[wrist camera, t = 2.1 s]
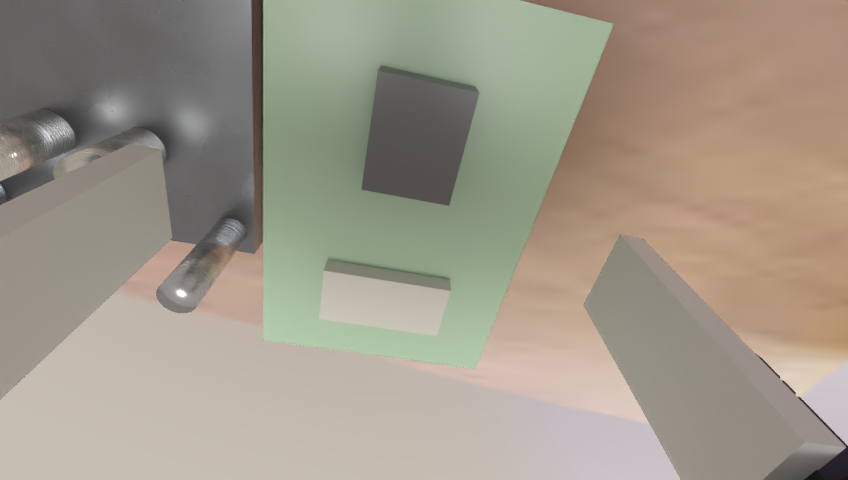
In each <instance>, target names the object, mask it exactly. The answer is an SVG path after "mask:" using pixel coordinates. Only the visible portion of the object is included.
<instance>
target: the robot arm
mask: <svg viewBox="0 0 848 480" xmlns="http://www.w3.org/2000/svg"><path fill="white" fill-rule="evenodd" d="M171 239H172V232H171V224H170V216H169V208H168V200H167V191H166V183H165V175H164V167H163V159H162V151H161V149H157V148H152V147H146V146H141V145H136V144H128V145H126V146H124V147H122V148H120V149H118V150H116V151H114V152H111V153H109V154H107V155H105V156H103V157H101V158H99V159H97V160H95V161H92V162H90V163H88V164H86V165H84V166H82V167H80V168H78V169H76V170H73V171H71V172H69V173H67V174H65V175H63V176H61V177H59V178H57V179H55V180H52V181H50V182H48V183H46V184H44V185H42V186H40V187H38V188H36V189H33V190H31V191H29V192H27V193H25V194H23V195H21V196H19V197H17V198H14V199H12V200H10V201H8V202H6V203H4V204H2V205H0V400H1V399H2V398H3V397H4V396H5V395H6V394H7V393H8V392H9V391H10V390H11V389H12V388H13V387H14V386H15V385H17V384H18V383H19V382H20V381H21V380H22V379H23V378H24V377H25V376H26V375H27V374H28V373H29V372H30V371H31V370H33V369H34V368H35V367H36V366H37V365H38V364H39V363H40V362H41V361H42V360H43V359H44V358H45V357H46V356H47V355H48V354H49V353H51V352H52V351H53V350H54V349H55V348H56V347H57V346H58V345H59V344H60V343H61V342H62V341H63V340H64V339H65V338H67V337H68V336H69V335H70V334H71V333H72V332H73V331H74V330H75V329H76V328H77V327H78V326H79V325H80V324H81V323H82V322H84V321H85V320H86V319H87V318H88V317H89V316H90V315H91V314H92V313H93V312H94V311H95V310H96V309H97V308H98V307H99V306H100V305H102V304H103V303H104V302H105V301H106V300H107V299H108V298H109V297H110V296H111V295H112V294H113V293H114V292H115V291H117V290H118V289H119V288H120V287H121V286H122V285H123V284H124V283H125V282H126V281H127V280H128V279H129V278H130V277H131V276H132V275H134V274H135V273H136V272H137V271H138V270H139V269H140V268H141V267H142V266H143V265H144V264H145V263H146V262H147V261H148V260H149V259H151V258H152V257H153V256H154V255H155V254H156V253H157V252H158V251H159V250H160V249H161V248H162V247H163V246H164V245H165V244H166V243H168V242H169V241H170V240H171ZM584 307H585V308H586V310H587V312H588V314H589V316H590V317H591V319H592V321H593V323H594V325H595V326H596V328H597V330H598V332H599V334H600V335H601V337H602V339H603V341H604V343H605V344H606V346H607V348H608V350H609V351H610V353H611V355H612V357H613V359H614V360H615V362H616V364H617V366H618V368H619V369H620V371H621V373H622V375H623V377H624V378H625V380H626V382H627V384H628V386H629V387H630V389H631V391H632V393H633V395H634V396H635V398H636V400H637V402H638V403H639V405H640V407H641V409H642V411H643V412H644V414H645V416H646V418H647V420H648V421H649V423H650V425H651V427H652V429H653V430H654V432H655V434H656V436H657V438H658V439H659V441H660V443H661V445H662V447H663V448H664V450H665V452H666V454H667V456H668V457H669V459H670V461H671V463H672V464H673V466H674V468H675V470H676V472H677V473H678V475H679V477H680V479H681V480H848V446H847V445H846V444H845V443H844V442H843V441H842V440H841V439H840V438H839V437H838V436H837V435H836V434H835V433H834V431H832V429H831V428H830V427H829V426H828V425H827V424H826V423H825V422H824V421H823V420H822V419H821V418H820V417H819V416H818V415H817V414H816V413H815V412H814V411H813V410H812V409H811V408H810V407H809V406H808V405H807V404H806V403H805V402H804V401H803V400H802V399H801V398H800V397H797V396H796V395H795V394H796V393H795V392H794V391H793V390H792V389H791V388H790V387H789V386H788V385H787V384H786V383H785V382H784V381H781V380H780V376H779V375H778V374H777V373H776V372H775V371H774V370H773V369H772V368H771V367H770V366H769V365H768V364H767V363H766V362H765V361H764V360H763V359H762V358H761V357H759V356H758V355H757V354H755V353H754V352H753V351H752V350H751V349H750V348H749V347H748V346H747V345H746V344H745V343H744V342H743V341H742V340H741V339H740V338H739V337H738V336H737V335H736V334H735V332H734V331H733V330H732V329H731V328H730V327H729V326H728V325H727V324H726V323H725V322H724V321H723V320H722V319H721V318H720V317H719V316H718V315H717V314H716V313H715V312H714V311H713V310H712V309H711V308H710V307H709V306H708V305H707V304H706V303H705V302H704V301H703V300H702V299H701V298H700V297H699V296H698V295H697V293H696V292H695V291H694V290H693V289H692V288H691V287H690V286H689V285H688V284H687V283H686V282H685V281H684V280H683V279H682V278H681V277H680V276H679V275H678V274H677V273H676V272H675V271H674V270H673V269H672V268H671V267H670V266H669V265H668V264H667V263H666V262H665V261H664V260H663V259H662V258H661V257H660V256H659V254H658V253H657V252H656V251H655V250H654V249H653V248H652V247H651V246H650V245H649V244H648V243H647V242H646V241H645V240H644V239H641V238H635V237H630V236H625V235H620V236H619V238H618V240H617V242H616V244H615V245H614V247H613V249H612V251H611V253H610V255H609V257H608V259H607V261H606V263H605V265H604V266H603V268H602V270H601V272H600V274H599V276H598V278H597V280H596V282H595V284H594V286H593V287H592V289H591V291H590V293H589V295H588V297H587V299H586V301H585V303H584Z"/></svg>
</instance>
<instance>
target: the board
mask: <svg viewBox="0 0 848 480" xmlns="http://www.w3.org/2000/svg"><path fill="white" fill-rule="evenodd" d="M613 25H614V24H612V23H608V22H604V21H600V20H596V19H592V18H588V17H584V16H580V15H577V14H573V13H569V12H565V11H561V10H557V9H553V8H549V7H545V6H541V5H537V4H533V3H529V2H525V1H521V0H263V340H266V341H274V342H282V343H288V344H296V345H303V346H311V347H317V348H325V349H332V350H339V351H346V352H354V353H361V354H368V355H376V356H383V357H390V358H397V359H405V360H412V361H419V362H427V363H434V364H441V365H448V366H456V367H463V368H470V369H476V366H477V364H478V361H479V359H480V356H481V354H482V351H483V349H484V346H485V344H486V341H487V339H488V336H489V334H490V331H491V329H492V326H493V324H494V321H495V319H496V316H497V314H498V311H499V309H500V306H501V304H502V301H503V299H504V296H505V294H506V291H507V289H508V286H509V284H510V281H511V279H512V276H513V274H514V271H515V269H516V266H517V264H518V262H519V259H520V257H521V254H522V252H523V249H524V247H525V244H526V242H527V239H528V237H529V234H530V232H531V229H532V227H533V224H534V222H535V219H536V217H537V214H538V212H539V209H540V207H541V204H542V202H543V199H544V197H545V194H546V192H547V189H548V187H549V184H550V182H551V179H552V177H553V174H554V172H555V169H556V167H557V164H558V162H559V159H560V157H561V154H562V152H563V149H564V147H565V144H566V142H567V139H568V137H569V134H570V132H571V129H572V127H573V125H574V122H575V120H576V117H577V115H578V112H579V110H580V107H581V105H582V102H583V100H584V97H585V95H586V92H587V90H588V87H589V85H590V82H591V80H592V77H593V75H594V72H595V70H596V67H597V65H598V62H599V60H600V57H601V55H602V52H603V50H604V47H605V45H606V42H607V40H608V37H609V35H610V32H611V30H612V27H613Z"/></svg>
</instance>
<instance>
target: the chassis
mask: <svg viewBox="0 0 848 480" xmlns="http://www.w3.org/2000/svg"><path fill="white" fill-rule="evenodd" d="M128 144H136V145H141V146H146V147H152V148H157V149H161V151H162V159H163V167H164V175H165V183H166V191H167V200H168V208H169V216H170V224H171V232H172V239H171V240H173V241H179V242H185V243H191V244H197V245H196V246H195V247H194V248H193V250H192V251H191V252H190V253H189V254H188V255H187V256H186V257H185V258H184V260H183V261H182V262H181V263H180V264H179V265H178V266H177V267H176V268H175V270H174V271H173V272H172V273H171V274H170V275H169V276H168V277H167V278H166V280H165V281H164V282H163V283H162V284H161V285H160V286H159V287H158V289H157V291H156V296H157V299H158V301H159V302H160V303H161V304H162V305H163V306H164V307H165V308H167V309H169V310H171V311H174V312H177V313H188V312H191V311H193V310H194V309H195V308H196V307H197V305H198V304H199V303H200V301H201V300H202V298H203V297H204V296H205V294H206V293H207V291H208V290H209V289H210V287H211V286H212V285H213V283H214V282H215V280H216V279H217V278H218V276H219V275H220V273H221V272H222V271H223V269H224V268H225V266H226V265H227V264H228V262H229V261H230V260H231V258H232V257H233V255H234V254H235V253H236V251H241V252H247V253H253V254H255V252H256V251H257V249H258V248H259V246H260V244H261V243H262V0H0V205H2V204H4V203H6V202H8V201H10V200H12V199H14V198H17V197H19V196H21V195H23V194H25V193H27V192H29V191H31V190H33V189H36V188H38V187H40V186H42V185H44V184H46V183H48V182H50V181H52V180H55V179H57V178H59V177H61V176H63V175H65V174H67V173H69V172H71V171H73V170H76V169H78V168H80V167H82V166H84V165H86V164H88V163H90V162H92V161H95V160H97V159H99V158H101V157H103V156H105V155H107V154H109V153H111V152H114V151H116V150H118V149H120V148H122V147H124V146H126V145H128Z"/></svg>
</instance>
